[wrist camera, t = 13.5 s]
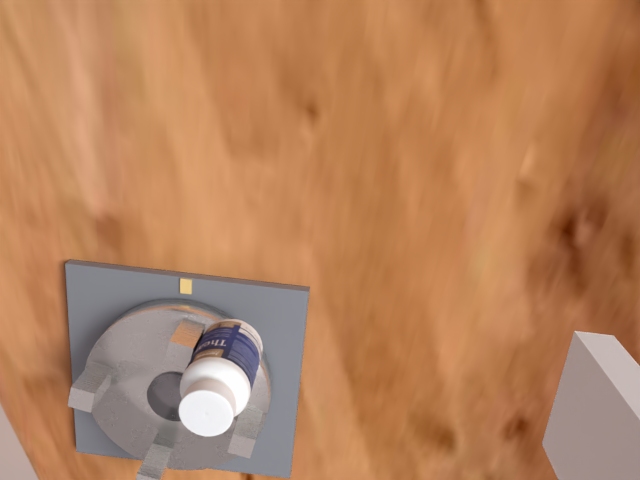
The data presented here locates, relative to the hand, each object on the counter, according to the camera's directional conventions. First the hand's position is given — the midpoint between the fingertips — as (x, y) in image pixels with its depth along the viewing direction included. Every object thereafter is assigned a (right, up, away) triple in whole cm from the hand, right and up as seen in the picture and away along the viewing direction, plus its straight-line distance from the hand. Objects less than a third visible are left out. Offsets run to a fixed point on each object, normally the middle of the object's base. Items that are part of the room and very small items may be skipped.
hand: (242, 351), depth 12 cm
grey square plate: (-11, -11, +44) cm, 46 cm away
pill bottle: (-6, -7, +38) cm, 39 cm away
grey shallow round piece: (-11, -11, +42) cm, 45 cm away
